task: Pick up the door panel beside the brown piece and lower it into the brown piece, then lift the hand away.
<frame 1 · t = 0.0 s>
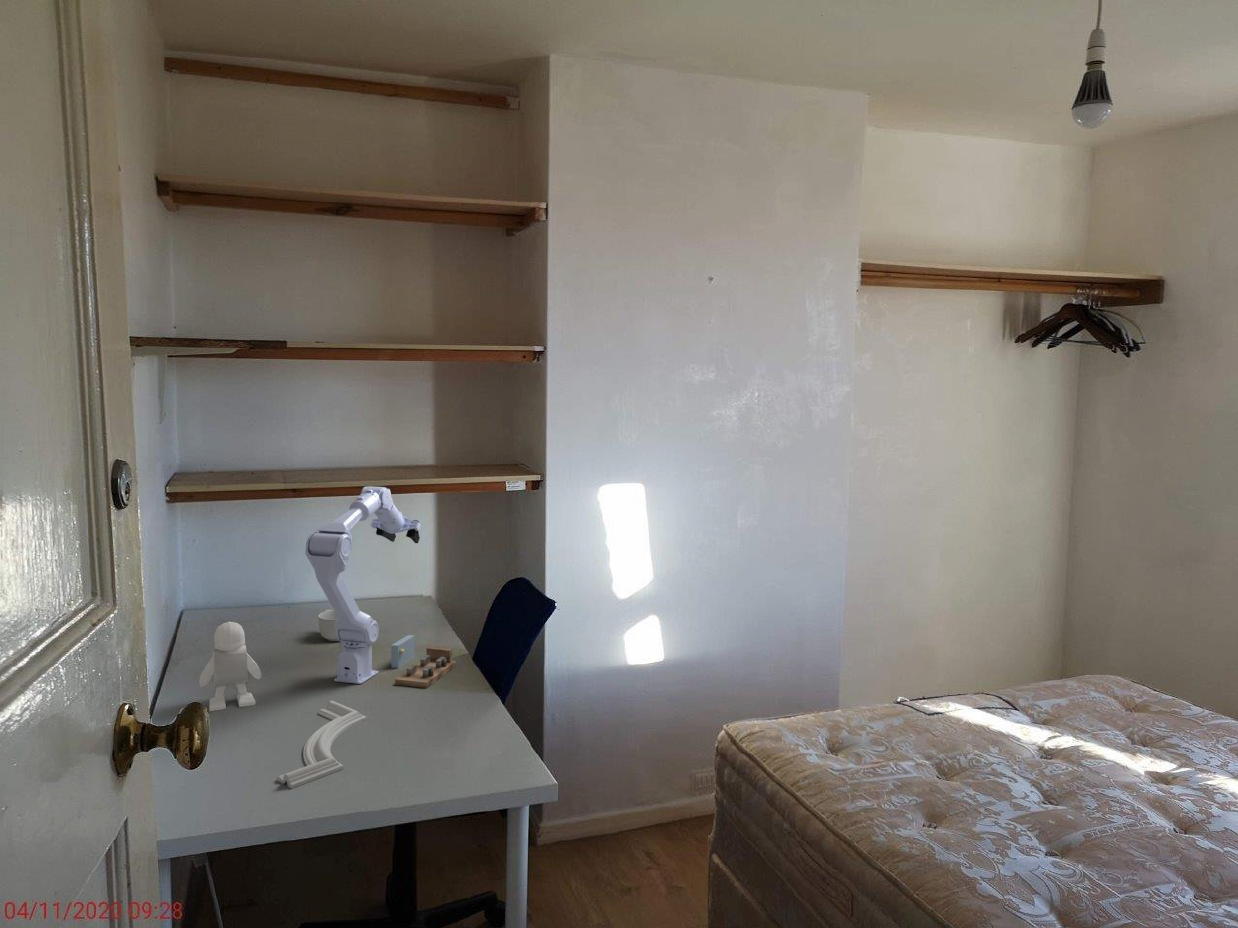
hand: (405, 539, 259), 32 cm above the table, tool tilted 50°, fingers open, 7 cm apart
brown piece: (426, 675, 237), on the table
molding: (317, 746, 192), on the table
door panel: (403, 662, 247), on the table
teacup: (335, 637, 270), on the table
toy robot: (231, 702, 216), on the table
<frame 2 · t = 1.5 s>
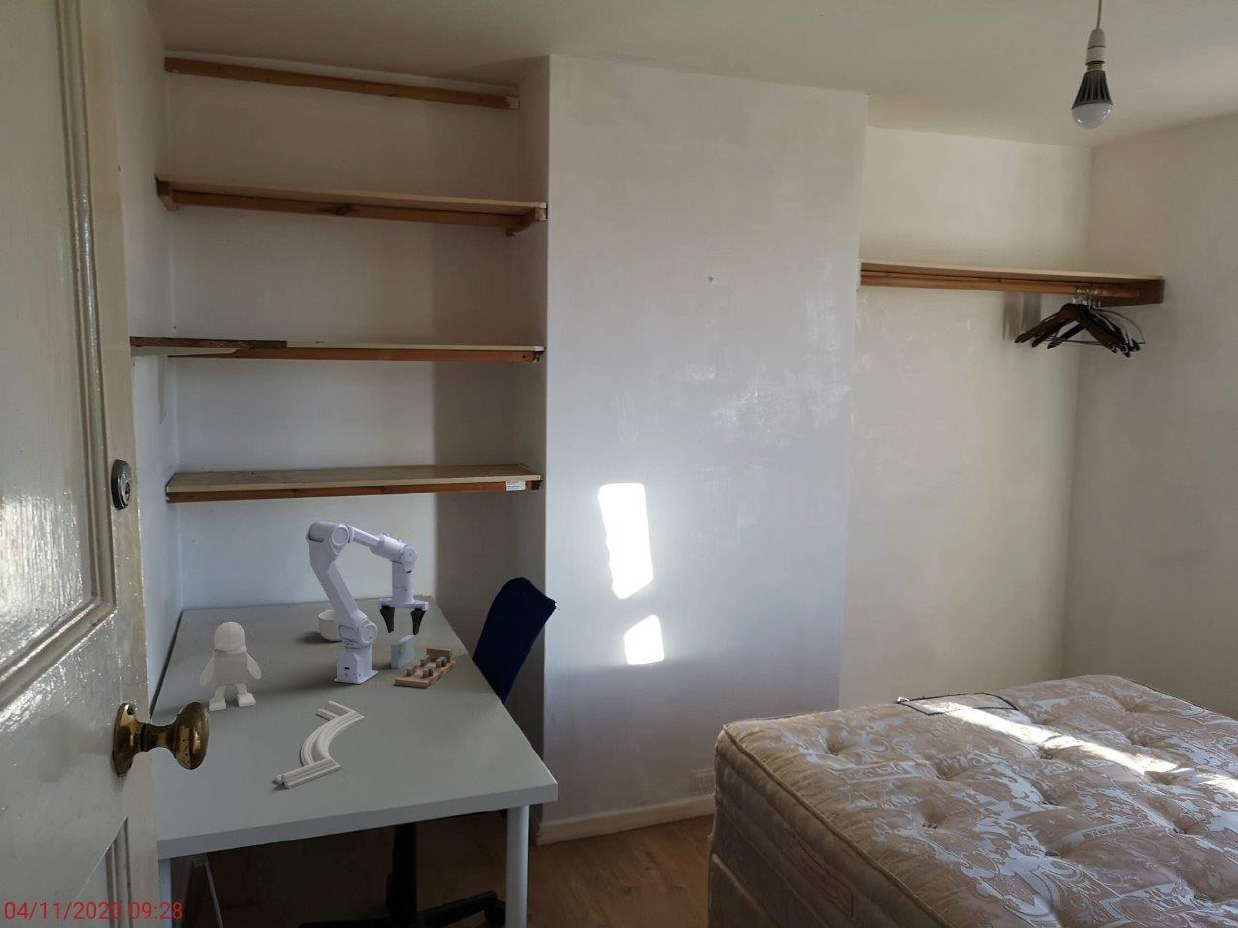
hand: (403, 633, 247), 8 cm above the table, tool pointing down, fingers open, 7 cm apart
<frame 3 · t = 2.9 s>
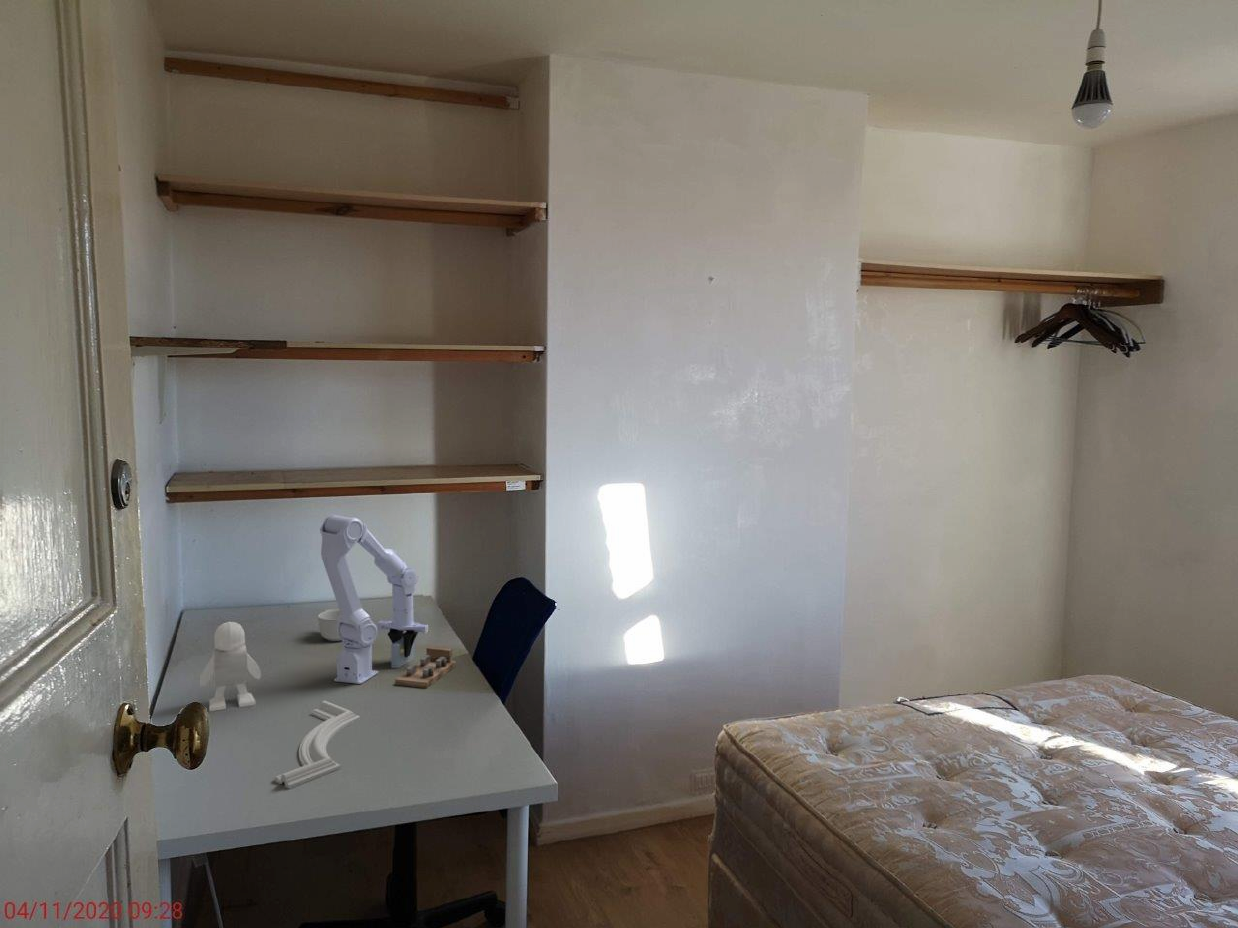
hand: (403, 655, 247), 2 cm above the table, tool pointing down, fingers closed on door panel, 2 cm apart
door panel: (403, 662, 247), on the table, touching gripper
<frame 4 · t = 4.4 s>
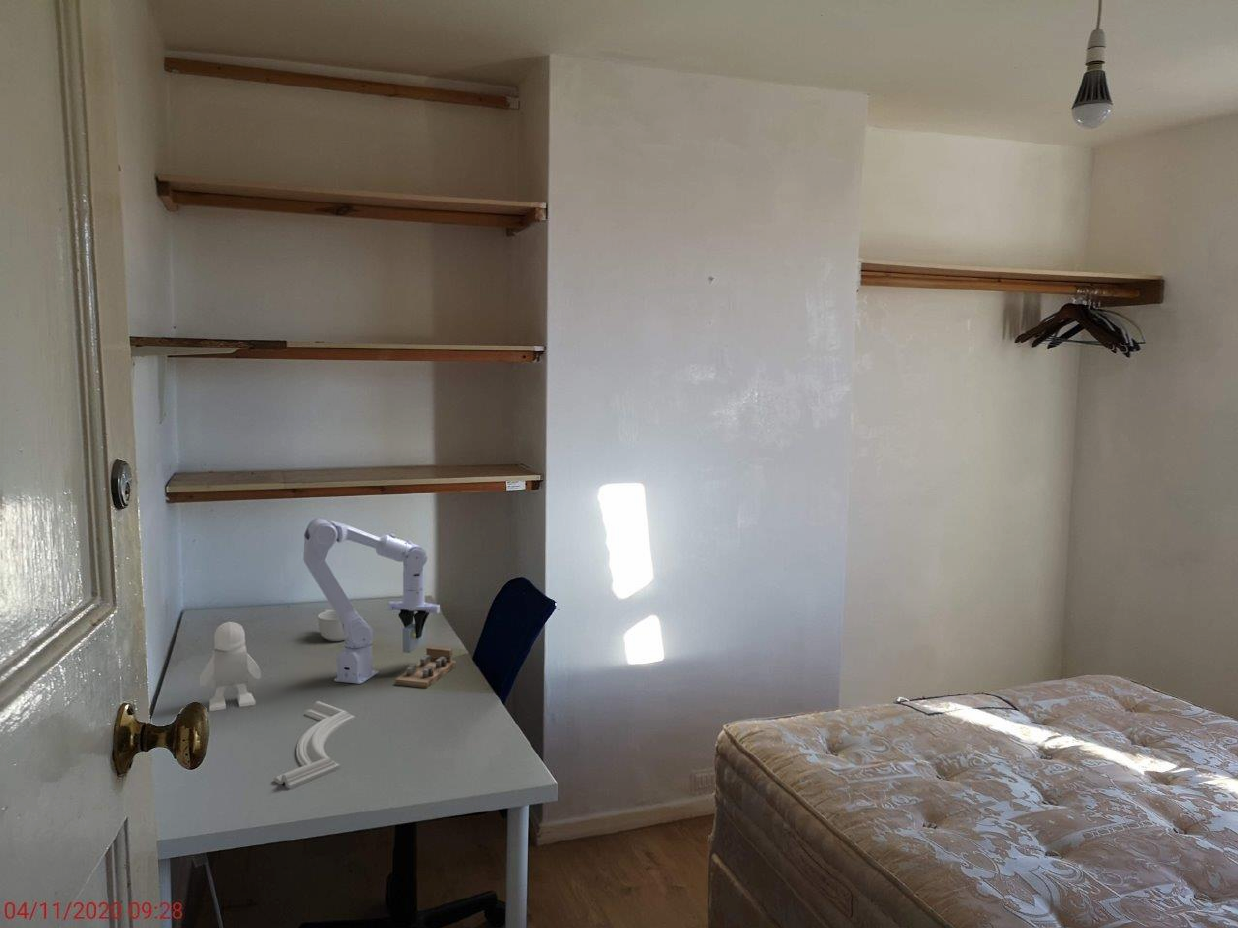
hand: (414, 636, 241), 9 cm above the table, tool pointing down, fingers closed on door panel
door panel: (414, 647, 242), point 6 cm above the table, touching gripper
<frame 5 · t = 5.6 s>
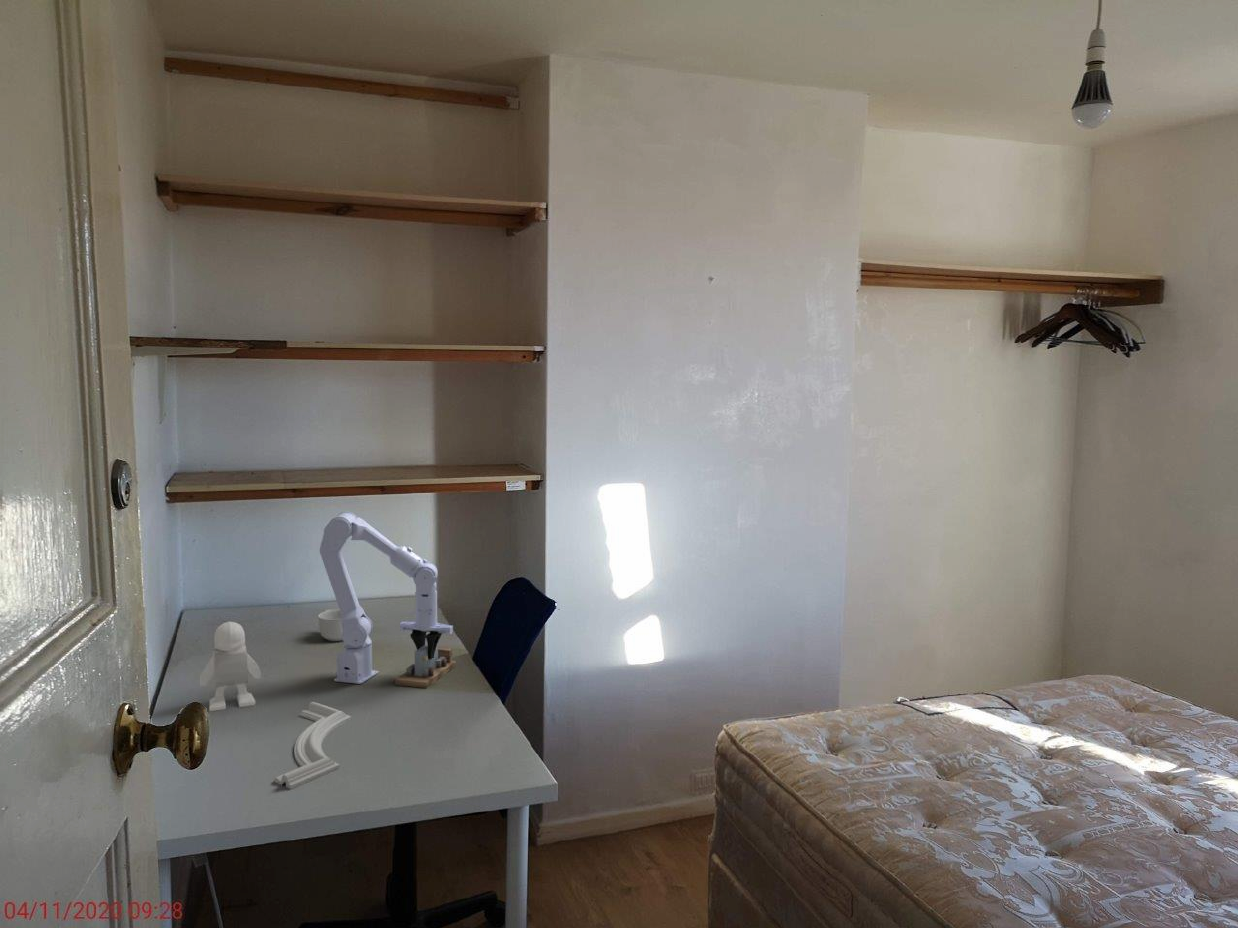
hand: (426, 657, 237), 5 cm above the table, tool pointing down, fingers closed on door panel, 2 cm apart
door panel: (426, 669, 237), point 1 cm above the table, touching brown piece, gripper
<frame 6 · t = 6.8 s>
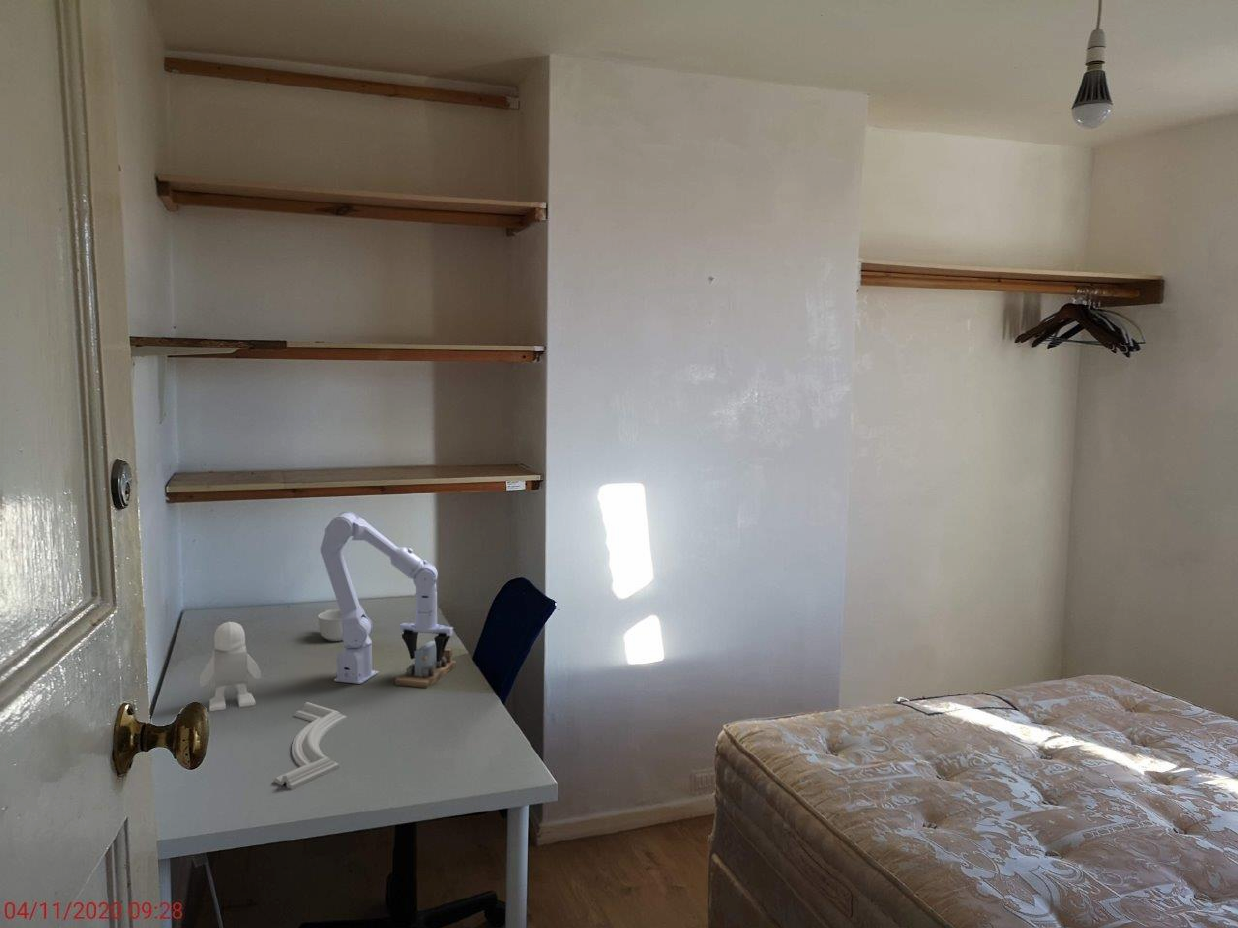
hand: (426, 659, 237), 4 cm above the table, tool pointing down, fingers open, 7 cm apart
door panel: (426, 669, 237), point 1 cm above the table, touching brown piece
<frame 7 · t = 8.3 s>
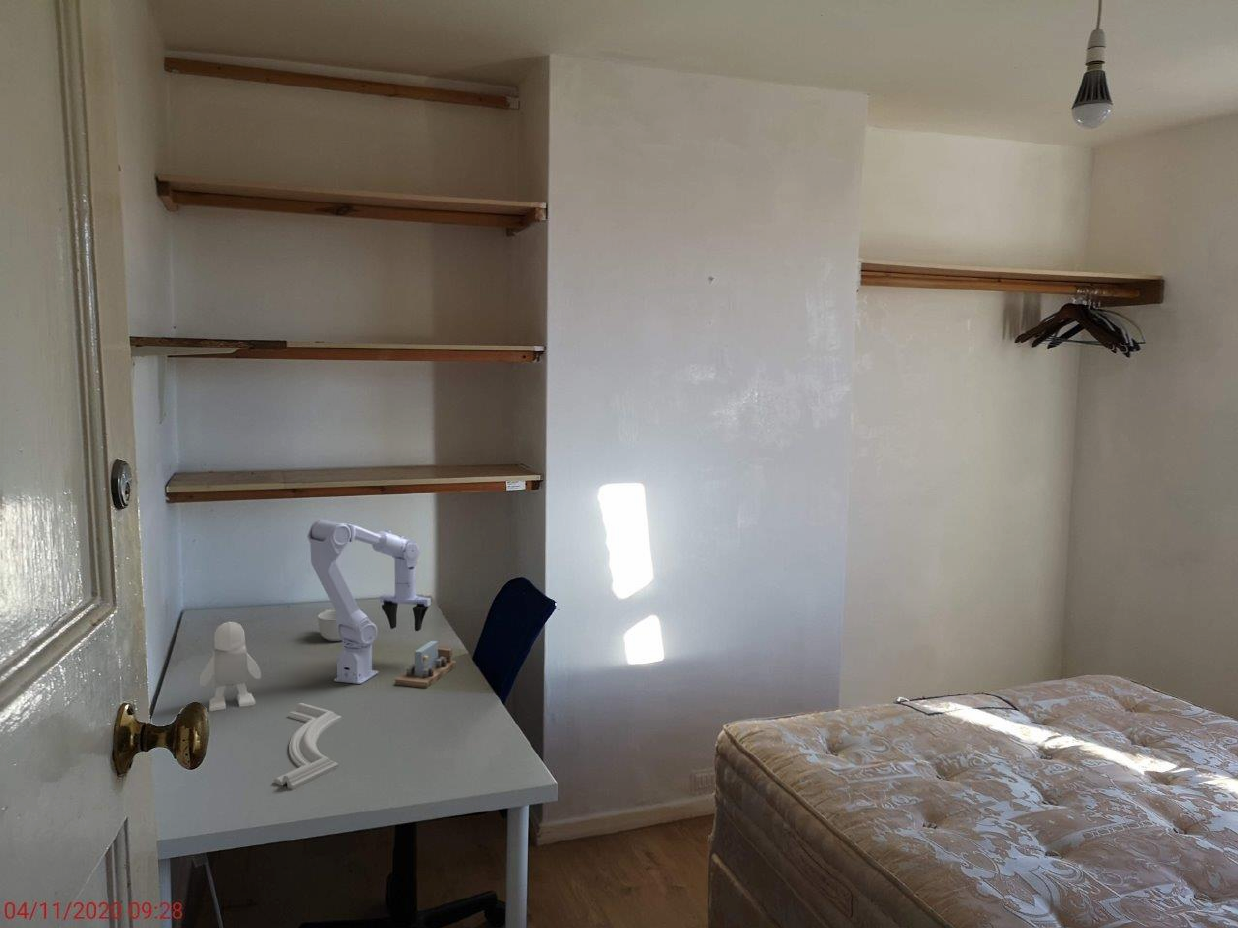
hand: (405, 629, 247), 9 cm above the table, tool pointing down, fingers open, 7 cm apart
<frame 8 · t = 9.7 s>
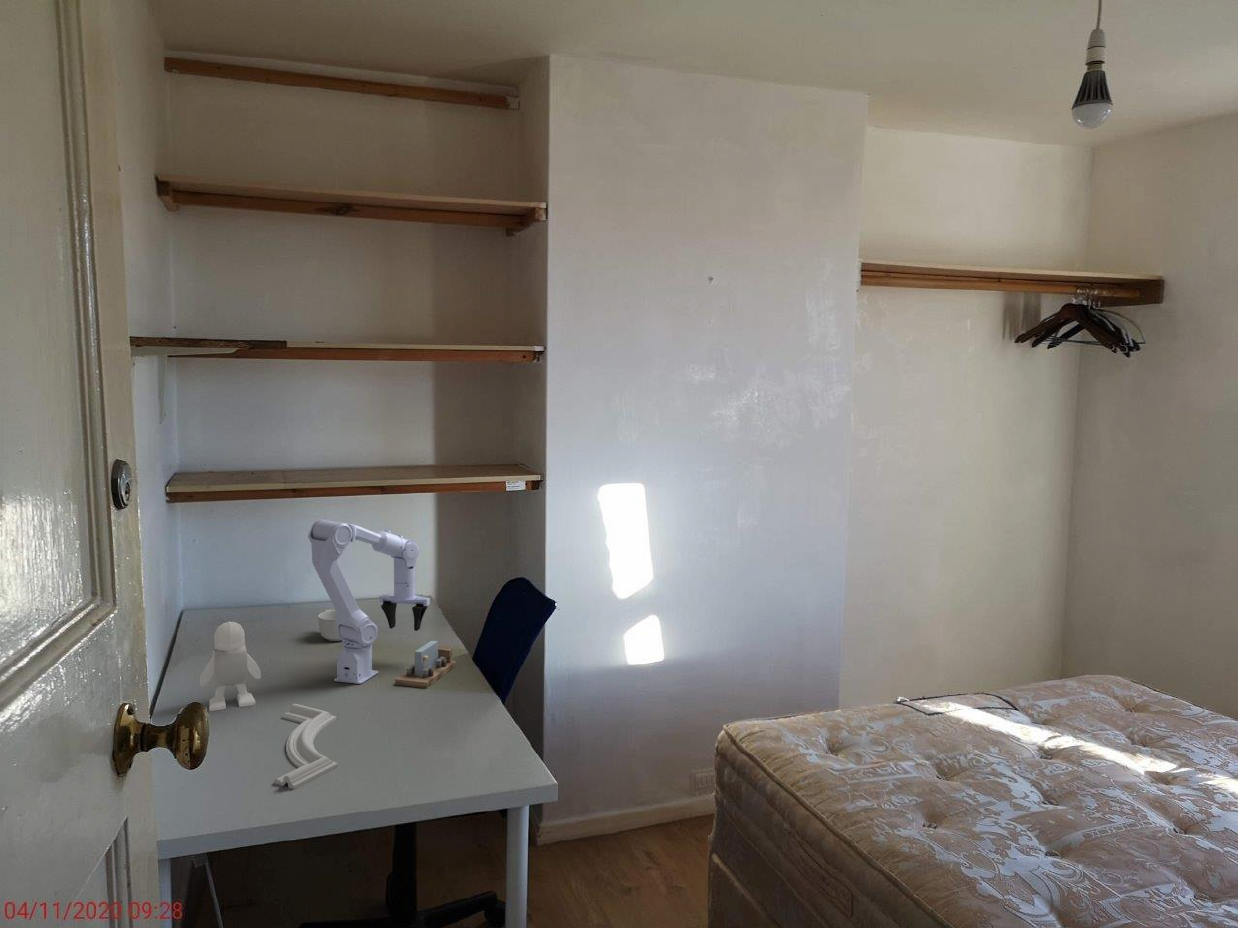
hand: (404, 628, 247), 9 cm above the table, tool pointing down, fingers open, 7 cm apart
at the end: door panel 0.0 cm off-centre on the brown piece, point 1.5 cm above the brown piece's base; door panel tilted 0°; the gripper is holding nothing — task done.
